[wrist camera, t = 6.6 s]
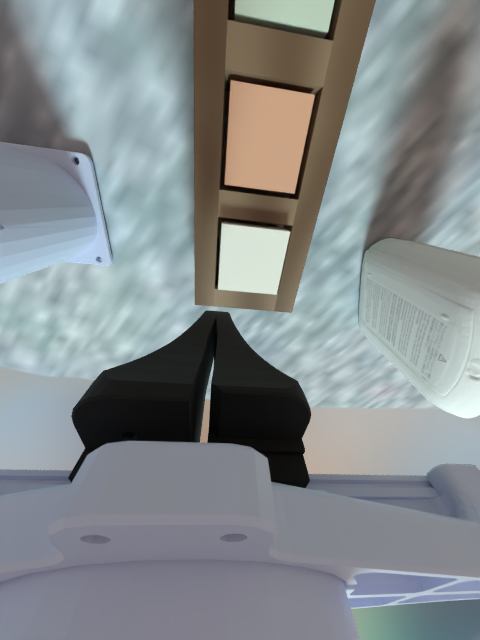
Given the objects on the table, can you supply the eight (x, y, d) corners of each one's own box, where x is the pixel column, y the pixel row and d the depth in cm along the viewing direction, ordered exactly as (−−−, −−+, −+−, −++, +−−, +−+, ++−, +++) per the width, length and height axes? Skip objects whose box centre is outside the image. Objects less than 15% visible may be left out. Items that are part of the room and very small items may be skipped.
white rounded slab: (392, 325, 23) (527, 429, 13) (354, 333, 24) (454, 441, 13) (407, 231, 18) (655, 274, 8) (358, 244, 19) (527, 301, 8)
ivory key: (219, 280, 17) (217, 289, 15) (223, 220, 14) (221, 223, 13) (272, 285, 17) (276, 294, 15) (283, 227, 15) (290, 231, 13)
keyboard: (202, 285, 20) (194, 304, 16) (214, -549, 6) (187, -1672, 3) (280, 292, 21) (291, 312, 17) (447, -448, 7) (704, -1222, 3)
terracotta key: (225, 186, 14) (224, 184, 12) (230, 97, 12) (230, 80, 10) (287, 194, 14) (294, 193, 13) (303, 109, 12) (314, 94, 11)
